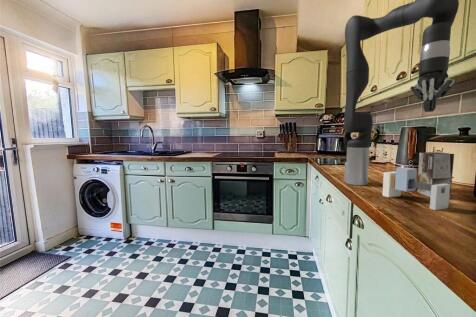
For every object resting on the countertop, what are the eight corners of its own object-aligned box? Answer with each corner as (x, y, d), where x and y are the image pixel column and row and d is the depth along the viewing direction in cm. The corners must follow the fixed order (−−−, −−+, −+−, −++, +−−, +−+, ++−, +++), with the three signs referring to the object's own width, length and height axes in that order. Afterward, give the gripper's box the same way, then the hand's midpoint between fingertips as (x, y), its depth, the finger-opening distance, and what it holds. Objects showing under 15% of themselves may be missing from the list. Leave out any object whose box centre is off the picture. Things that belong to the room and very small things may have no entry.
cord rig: (382, 195, 85) (383, 172, 84) (394, 194, 87) (395, 171, 86) (435, 210, 68) (437, 181, 67) (448, 207, 70) (450, 179, 69)
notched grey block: (394, 189, 81) (396, 168, 80) (404, 187, 82) (405, 167, 81) (406, 191, 77) (407, 169, 76) (415, 190, 78) (417, 168, 78)
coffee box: (451, 198, 80) (455, 153, 78) (430, 198, 81) (434, 153, 79) (434, 192, 88) (437, 151, 87) (416, 191, 90) (418, 151, 88)
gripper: (405, 63, 80) (401, 113, 82) (450, 51, 67) (444, 109, 69) (420, 65, 82) (416, 113, 84) (466, 53, 69) (460, 110, 71)
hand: (429, 111), depth 77 cm, fingers closed
